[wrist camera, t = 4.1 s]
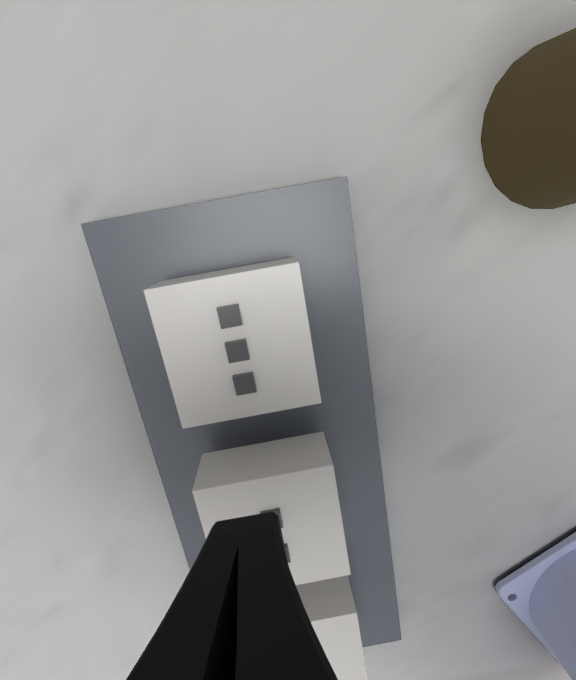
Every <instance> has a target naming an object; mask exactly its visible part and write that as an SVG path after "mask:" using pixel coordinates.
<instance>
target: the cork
mask: <svg viewBox="0 0 576 680" xmlns="http://www.w3.org/2000/svg"><path fill="white" fill-rule="evenodd" d="M481 143H482V150H483V156H484V163H485V167H486V169H487V171H488V173H489V174H490V176H491V178H492V180H493V182H494V184H495V186H496V187H497V188H498V189H499V190H500V191H501V192H502V193H503V194H504V195H506V196H507V197H508V198H509V199H510V200H511V201H513V202H515V203H518V204H521V205H523V206H526V207H528V208H531V209H554V208H558V207H562V206H566V205H569V204H573V203H576V28H575V29H573V30H570V31H568V32H566V33H564V34H561V35H559V36H557V37H555V38H553V39H550V40H548V41H546V42H544V43H541V44H539V45H537V46H535V47H534V48H532V49H531V50H530V51H528V52H527V53H526V54H524V55H523V56H522V57H520V58H519V59H518V60H516V61H515V62H514V63H513V64H512V65H511V66H510V68H509V69H508V70H507V72H506V73H505V74H504V76H503V77H502V78H501V80H500V81H499V82H498V84H497V85H496V86H495V89H494V91H493V94H492V96H491V98H490V101H489V103H488V106H487V108H486V111H485V113H484V121H483V129H482V137H481Z"/></svg>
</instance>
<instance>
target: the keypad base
mask: <svg viewBox="0 0 576 680" xmlns="http://www.w3.org/2000/svg"><path fill="white" fill-rule="evenodd" d="M81 226H82V229H83V232H84V236H85V239H86V242H87V245H88V248H89V251H90V255H91V258H92V261H93V264H94V267H95V270H96V274H97V277H98V280H99V283H100V286H101V289H102V293H103V296H104V299H105V302H106V305H107V308H108V312H109V315H110V318H111V321H112V324H113V327H114V331H115V334H116V337H117V340H118V343H119V346H120V350H121V353H122V356H123V359H124V362H125V365H126V369H127V372H128V375H129V378H130V381H131V385H132V388H133V391H134V394H135V397H136V400H137V404H138V407H139V410H140V413H141V416H142V419H143V423H144V426H145V429H146V432H147V435H148V438H149V442H150V445H151V448H152V451H153V454H154V457H155V461H156V464H157V467H158V470H159V473H160V476H161V480H162V483H163V486H164V489H165V492H166V495H167V499H168V502H169V505H170V508H171V511H172V514H173V518H174V521H175V524H176V527H177V530H178V533H179V537H180V540H181V543H182V546H183V549H184V552H185V556H186V559H187V562H188V565H189V568H190V570H191V568H192V566H193V564H194V562H195V560H196V558H197V556H198V554H199V552H200V550H201V548H202V546H203V544H204V542H205V540H206V538H205V534H204V531H203V527H202V524H201V520H200V517H199V514H198V510H197V507H196V503H195V500H194V496H193V493H192V490H193V486H194V482H195V479H196V475H197V471H198V467H199V464H200V460H201V456H202V454H204V453H210V452H215V451H220V450H226V449H231V448H237V447H242V446H247V445H253V444H258V443H263V442H269V441H274V440H279V439H285V438H290V437H295V436H301V435H306V434H312V433H317V432H322V431H323V432H324V435H325V439H326V442H327V445H328V449H329V452H330V455H331V459H332V462H333V466H334V472H335V479H336V485H337V491H338V497H339V504H340V510H341V516H342V522H343V529H344V535H345V541H346V548H347V554H348V560H349V566H350V573H351V575H348V579H349V583H350V587H351V591H352V595H353V599H354V603H355V607H356V611H357V617H358V623H359V629H360V636H361V642H362V647H367V646H372V645H377V644H382V643H387V642H392V641H398V640H401V632H400V623H399V614H398V606H397V597H396V589H395V580H394V572H393V563H392V555H391V546H390V538H389V529H388V521H387V512H386V504H385V495H384V486H383V478H382V469H381V461H380V452H379V444H378V435H377V427H376V418H375V410H374V401H373V393H372V384H371V376H370V367H369V358H368V350H367V341H366V333H365V324H364V316H363V307H362V299H361V290H360V282H359V273H358V265H357V256H356V248H355V239H354V231H353V222H352V213H351V205H350V196H349V188H348V179H347V176H346V177H340V178H335V179H329V180H324V181H318V182H312V183H307V184H301V185H296V186H290V187H284V188H279V189H273V190H268V191H262V192H256V193H251V194H245V195H240V196H234V197H228V198H223V199H217V200H212V201H206V202H200V203H195V204H189V205H184V206H178V207H172V208H167V209H161V210H156V211H150V212H144V213H139V214H133V215H128V216H122V217H116V218H111V219H105V220H100V221H94V222H88V223H83V224H81ZM291 257H294V258H295V259H296V260H297V261H298V262H299V266H300V272H301V278H302V285H303V291H304V297H305V303H306V310H307V316H308V322H309V328H310V334H311V341H312V347H313V353H314V359H315V365H316V372H317V378H318V384H319V390H320V396H321V403H319V404H314V405H309V406H303V407H298V408H292V409H287V410H282V411H276V412H271V413H265V414H260V415H255V416H249V417H244V418H239V419H233V420H228V421H222V422H217V423H212V424H206V425H201V426H195V427H190V428H185V429H183V428H182V425H181V421H180V418H179V414H178V411H177V407H176V404H175V400H174V397H173V393H172V390H171V386H170V383H169V379H168V375H167V372H166V368H165V365H164V361H163V358H162V354H161V351H160V347H159V344H158V340H157V337H156V333H155V330H154V326H153V323H152V319H151V316H150V312H149V309H148V305H147V301H146V298H145V294H144V291H143V290H145V289H147V288H149V287H151V286H153V285H155V284H156V283H158V282H160V281H163V280H169V279H174V278H180V277H185V276H191V275H197V274H202V273H208V272H213V271H219V270H224V269H230V268H235V267H241V266H246V265H252V264H257V263H263V262H268V261H274V260H280V259H285V258H291Z"/></svg>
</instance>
